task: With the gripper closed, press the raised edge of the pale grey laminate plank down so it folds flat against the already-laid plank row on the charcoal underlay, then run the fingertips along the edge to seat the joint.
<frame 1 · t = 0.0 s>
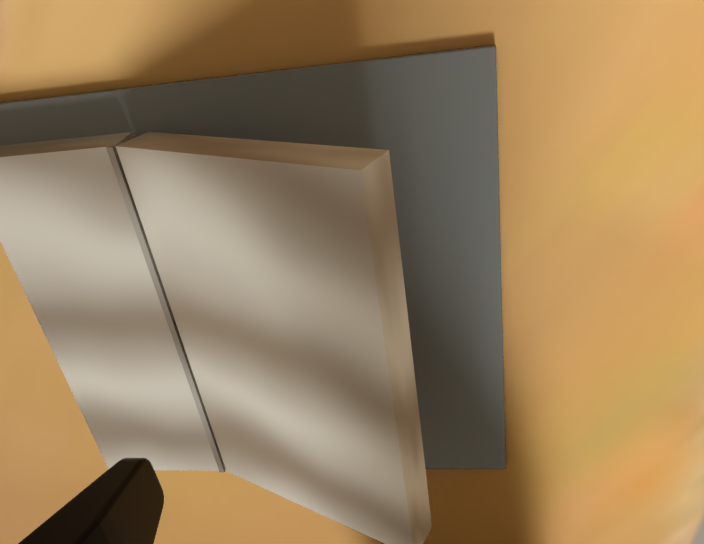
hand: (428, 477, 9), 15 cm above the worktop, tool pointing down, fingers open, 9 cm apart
loose plank: (286, 352, 23), point 3 cm above the worktop, hinge at 25.0°
underlay mat: (270, 305, 26), on the worktop
laid row: (129, 311, 28), resting on underlay mat
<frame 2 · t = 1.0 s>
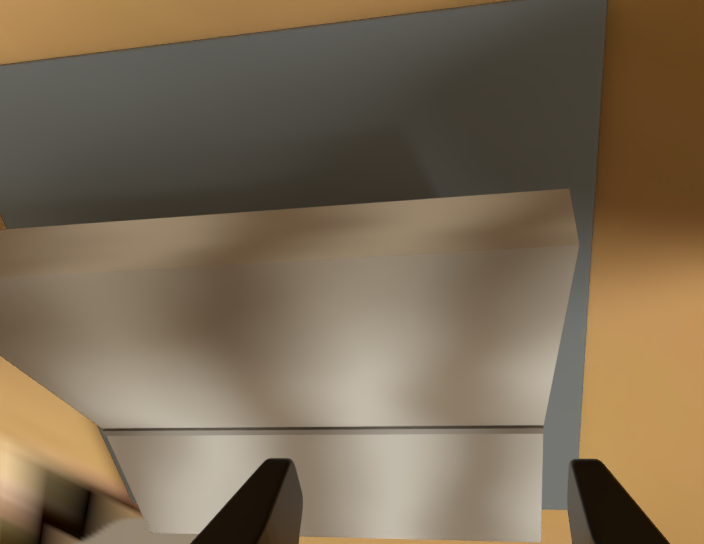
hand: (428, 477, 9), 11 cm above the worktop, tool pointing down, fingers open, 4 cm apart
loose plank: (271, 341, 18), point 3 cm above the worktop, hinge at 25.0°
underlay mat: (301, 317, 22), on the worktop
laid row: (330, 450, 25), resting on underlay mat
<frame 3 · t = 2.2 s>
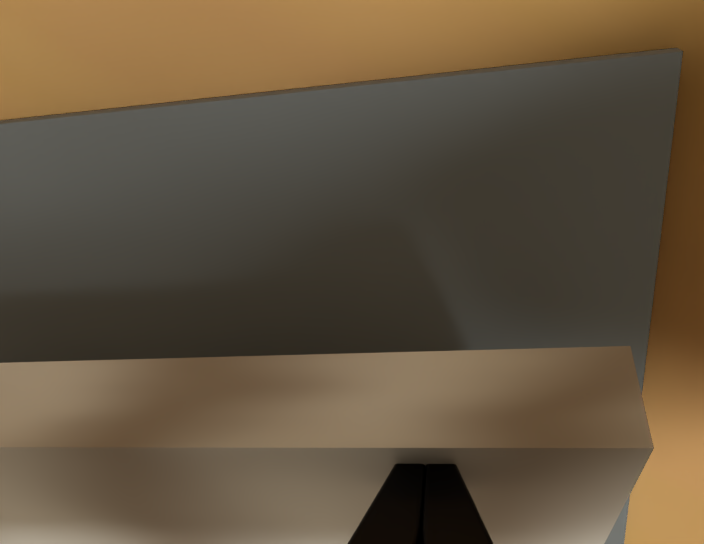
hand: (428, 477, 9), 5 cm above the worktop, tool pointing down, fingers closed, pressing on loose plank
loose plank: (211, 502, 14), point 3 cm above the worktop, hinge at 22.3°, touching gripper
underlay mat: (261, 448, 17), on the worktop
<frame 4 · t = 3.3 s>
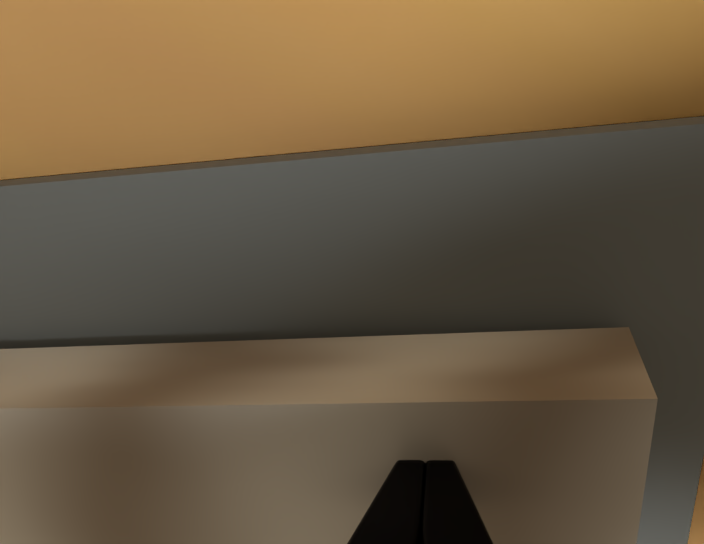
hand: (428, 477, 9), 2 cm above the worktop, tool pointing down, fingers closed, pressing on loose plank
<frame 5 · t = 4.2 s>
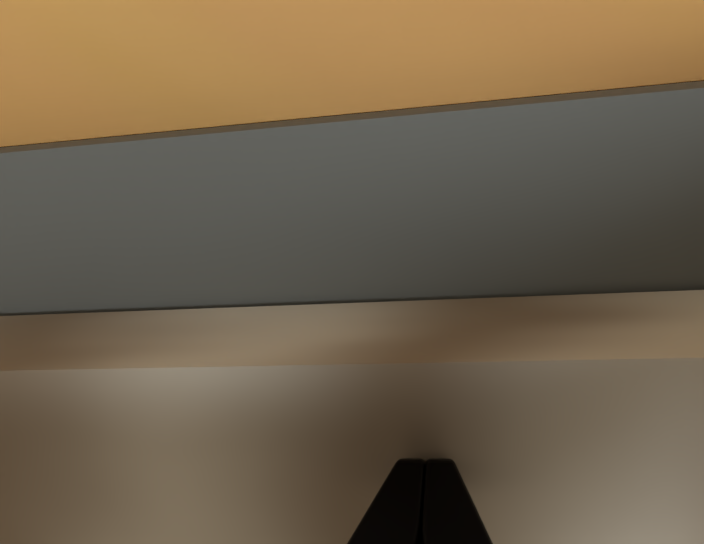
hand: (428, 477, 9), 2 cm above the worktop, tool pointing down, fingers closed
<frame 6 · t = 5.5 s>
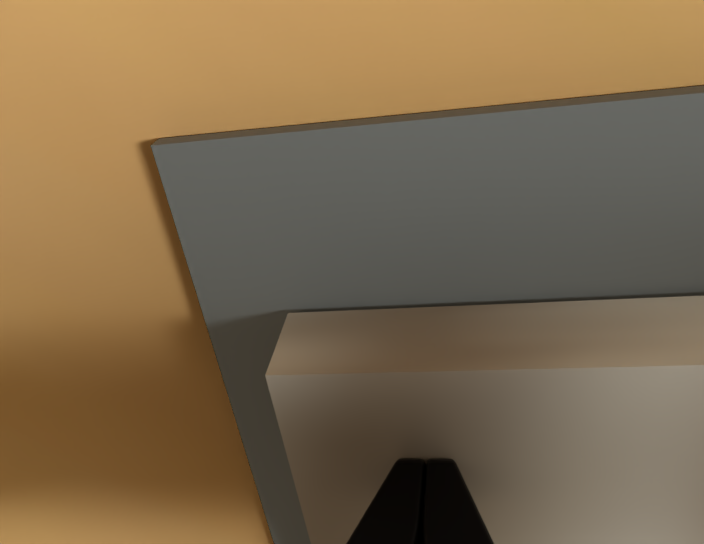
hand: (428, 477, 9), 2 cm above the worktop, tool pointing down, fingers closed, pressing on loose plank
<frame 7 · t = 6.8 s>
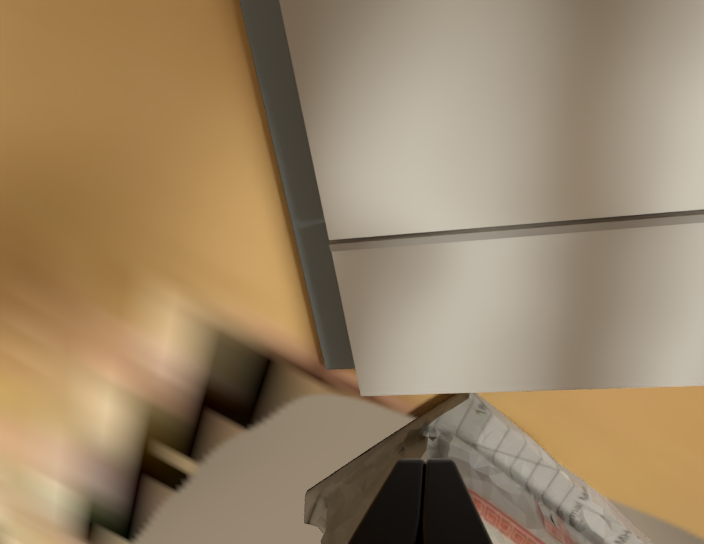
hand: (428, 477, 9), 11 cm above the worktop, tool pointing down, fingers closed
loose plank: (620, 16, 15), point 1 cm above the worktop, hinge at 0.7°
packaged product: (520, 543, 28), on the worktop
underlay mat: (607, 72, 17), on the worktop
laid row: (599, 278, 20), resting on underlay mat
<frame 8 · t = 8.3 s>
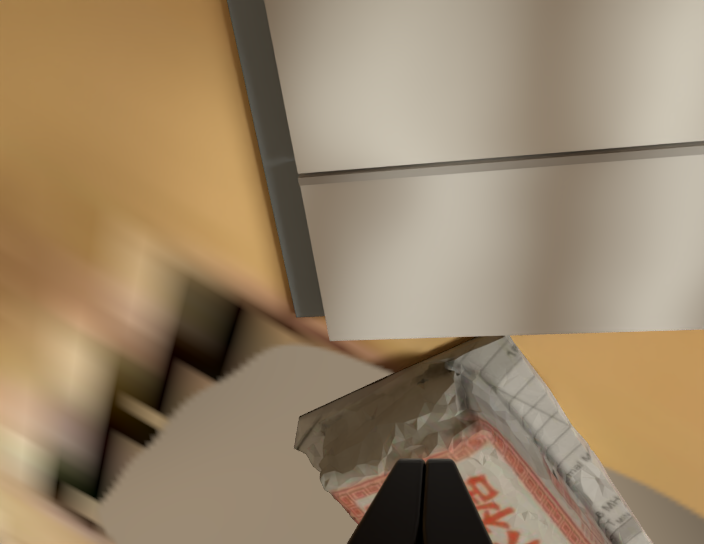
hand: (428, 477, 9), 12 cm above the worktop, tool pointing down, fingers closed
packaged product: (500, 500, 28), on the worktop
underlay mat: (578, 5, 17), on the worktop
laid row: (569, 223, 20), resting on underlay mat
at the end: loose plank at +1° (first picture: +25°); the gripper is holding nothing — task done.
